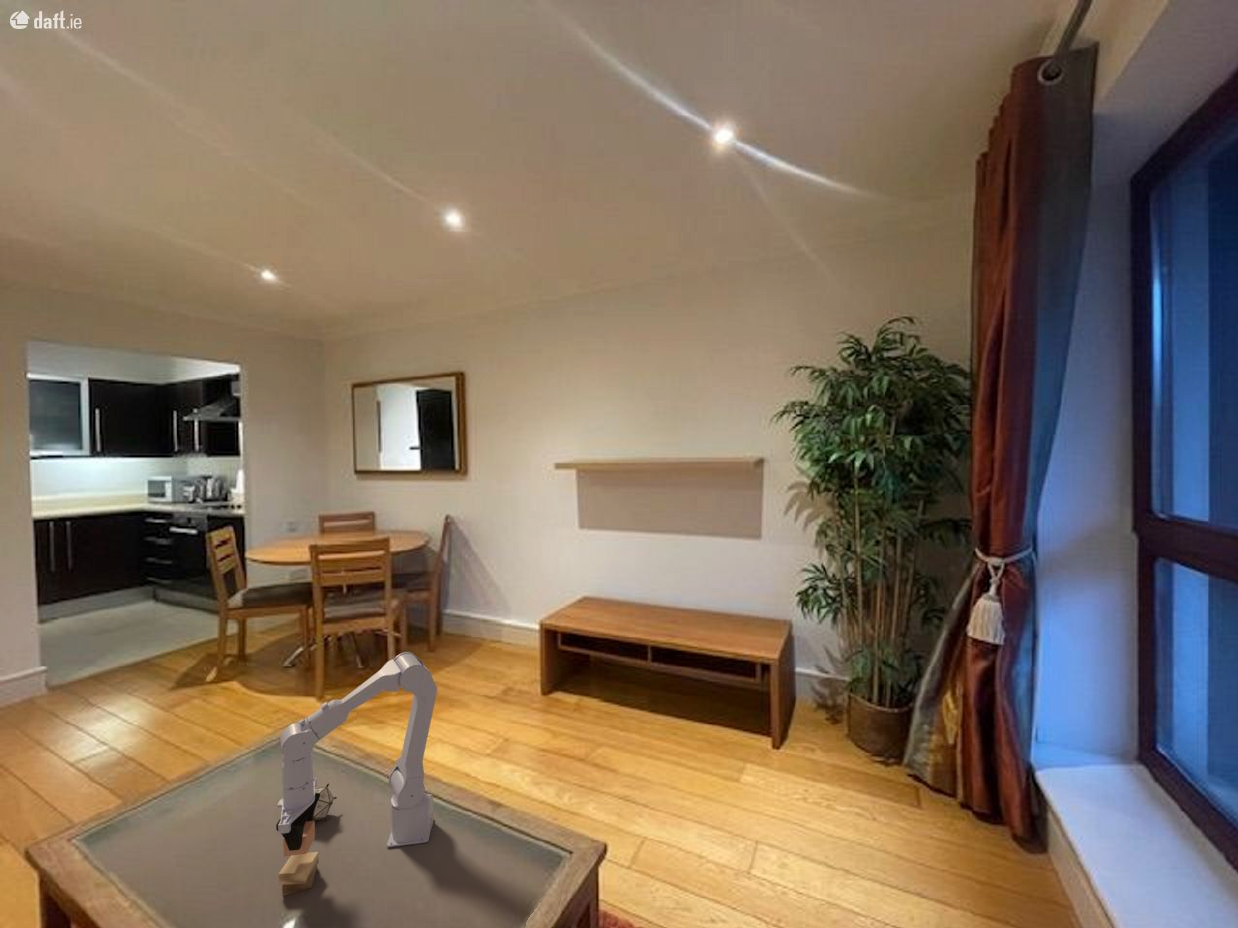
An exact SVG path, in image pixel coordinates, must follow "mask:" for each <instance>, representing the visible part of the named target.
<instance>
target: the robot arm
mask: <svg viewBox="0 0 1238 928" xmlns="http://www.w3.org/2000/svg"><path fill="white" fill-rule="evenodd" d="M399 687H401V689H402V690H404V691H406V692H408V693H410V694H413V699H412V703H411V708H410V712H409V716H408V717H409V718H408V722H407V726H406V731H405V736H404V741H403V744H402V751H401V755H400V757H398V758H397V760H396V761H395V765H394V768H393V769H392V770H391V772H390V774H389V776H388V783H389V786H390V788H391V789H392V791H393V792H392V797H391V799H390V806H391V808H390V809H391V811H390V812H391V813H390V814H391V815H390V816H391V831H390V835H389V837H388V840H387V843H386V847H387V848H392V847H400V846H407V845H409V846H410V845H417V844H423V843H428V842H429V839H430V836H431V831H432V828H433V826H434V825H433V824H434V820H433V819H434V817H435V816H434V796H433V794H431V793H425V792H426V787H425V785H424V779H425V771H424V761H423V760H424V756H425V751H426V745H427V741H428V737H429V732H430V727H431V722H432V717H433V712H434V708H435V703H436V699H437V693H438V687H437V685H436V682H435V681H434V678H433V675H432V672H431V671H430V670H429V668H428V667H427V666H426V665H425V664H424V663H423V661H422V660H421V659H420V658H419V657H418V656H417V655H415V654H414V653H413V652H410V651H405V652H401V653H399V654H398V655H396V656H395V657H394V658H393V659H389V660H388V661H387V662H386V663H384V665H383V666H382V667H381V669H379V670H378V671H377V672H376V673H374V674H373V675H371V676H370V677H369V678H368V679H366V680H365V681H364V682H363V683H362V684H360V685H358V687H356V688H355V689H353V690H352V691H351V692H349V693H348V694H347V695H345V696H344V697H343V698H342V699H332V700H330V701H329V702H328V701H324V703H323V702H322V704H320V708H318V709H317V710H316V711H314V712H312V713H311V714H310V715H309V716H307V717H305V718H302V719H300V720H299V721H298V722H296V723H295V722H294V723H292V724H290V725H288V726H287V727H286V728H285V729H284V730H283V732H282V733H281V735H280V738H278V739H279V744H280V747H281V753H282V756H281V761H282V762H281V763H282V764H281V780H282V783H281V784H282V798H280V800H279V801H278V803H277V805H276V807H277V808H278V809H280V808H281V815H280V818H279V819H278V821H277V823H276V824H275V829H276V831H277V832H278V833H277V834H278V835H282V837H283V838H284V839H285V841H286V844H287V846H288V849H289V851H293V850H299V849H300V848H301V844H302V838H303V830H304V826H305V823H306V822H308V821H314V820H313V816H314V811H315V808H316V805H317V802H318V800H319V798H320V793H315V789H316V788H317V787H318V777H314V760H313V759H314V757H313V754H312V751H313V749H314V747H315V745H317V743H319V741H321V740H322V739H324V738H325V737H326V736H328V735H330V734H331V732H333V731H334V730H336V729H337V728H338V727H340V726H341V725H343V724H344V723H346V722H347V720H348V717H349V714H350V713H351V712H353V711H355V710H356V709H357V708H358V707H360V706H362V705H363V704H365V703H366V702H368V701H369V700H371V699H373V698H374V697H376V696H377V695H379V694H381V693H382V692H384V691H387V692H397V693H398V692H400V688H399Z"/></svg>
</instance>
